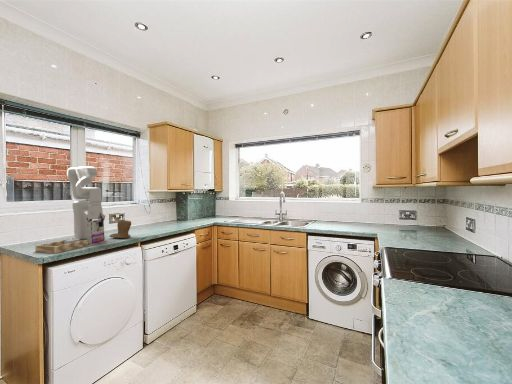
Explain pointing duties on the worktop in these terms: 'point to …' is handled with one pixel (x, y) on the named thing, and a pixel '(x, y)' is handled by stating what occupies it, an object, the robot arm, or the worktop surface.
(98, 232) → the candy bar box
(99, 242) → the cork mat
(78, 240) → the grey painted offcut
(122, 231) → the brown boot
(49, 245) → the wooden compartment tray
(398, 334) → the worktop surface
